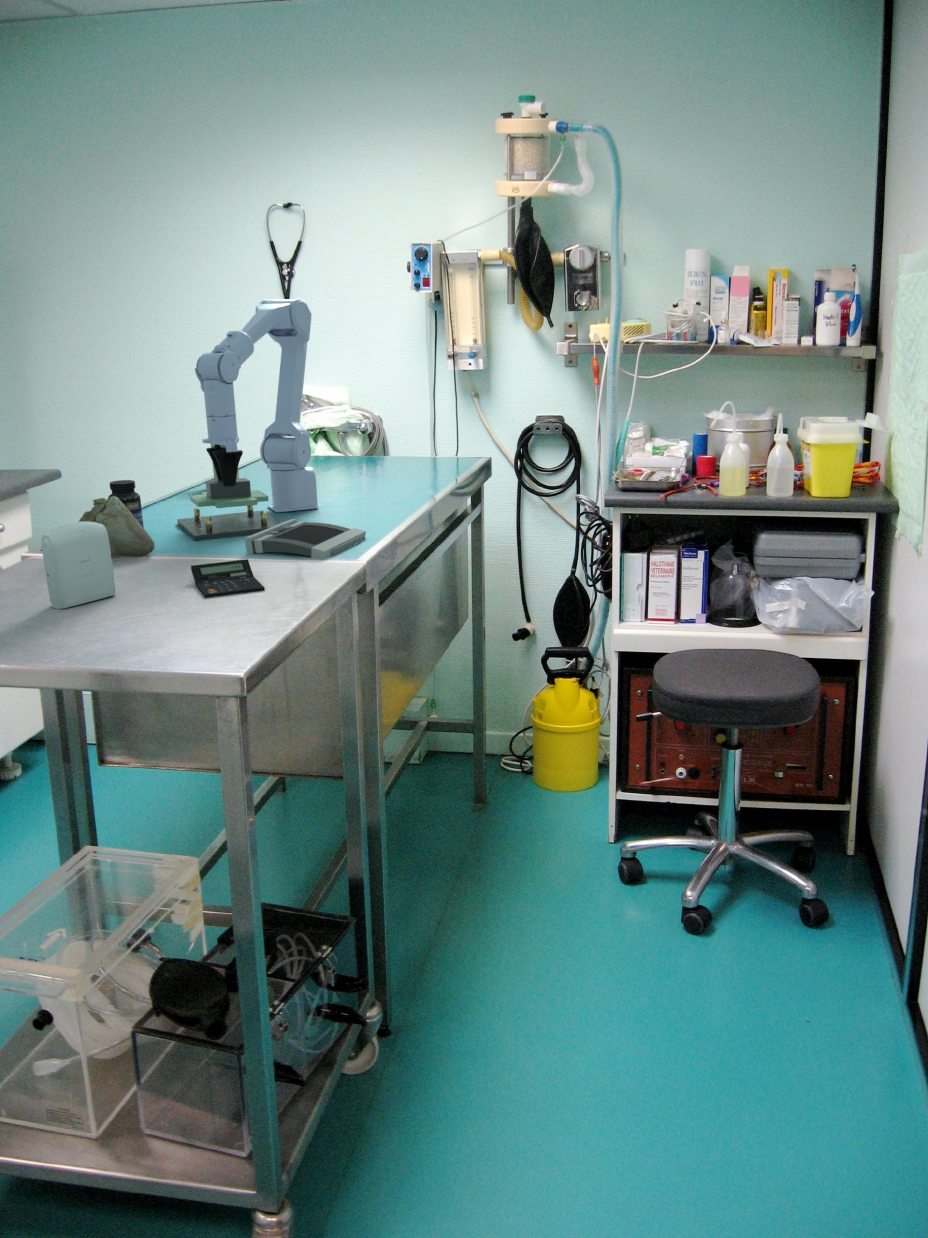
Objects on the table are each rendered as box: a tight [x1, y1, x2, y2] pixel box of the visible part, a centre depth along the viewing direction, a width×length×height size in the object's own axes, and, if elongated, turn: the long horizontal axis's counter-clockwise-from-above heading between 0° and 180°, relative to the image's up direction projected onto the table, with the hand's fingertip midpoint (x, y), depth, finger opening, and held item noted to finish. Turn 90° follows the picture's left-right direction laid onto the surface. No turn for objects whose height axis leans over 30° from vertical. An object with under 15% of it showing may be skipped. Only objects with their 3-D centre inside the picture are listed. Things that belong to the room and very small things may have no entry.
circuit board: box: [189, 477, 269, 509], centre depth 213 cm, size 14×14×4 cm
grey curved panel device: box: [244, 518, 367, 560], centre depth 197 cm, size 17×5×16 cm
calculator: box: [190, 558, 266, 599], centre depth 171 cm, size 9×12×3 cm
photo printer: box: [41, 521, 117, 610], centre depth 163 cm, size 10×4×12 cm, turn 140°
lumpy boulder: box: [77, 496, 155, 558], centre depth 194 cm, size 11×11×15 cm
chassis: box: [177, 505, 282, 542], centre depth 214 cm, size 18×18×4 cm
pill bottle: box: [107, 479, 145, 529], centre depth 206 cm, size 6×6×11 cm
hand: (227, 484), depth 212 cm, fingers closed on circuit board, 4 cm apart
